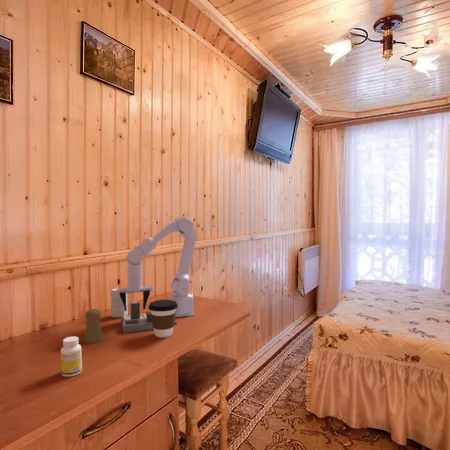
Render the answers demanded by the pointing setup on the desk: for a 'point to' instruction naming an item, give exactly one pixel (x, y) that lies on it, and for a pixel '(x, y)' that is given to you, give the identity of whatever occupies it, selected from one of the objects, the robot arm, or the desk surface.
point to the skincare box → (118, 305)
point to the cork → (93, 326)
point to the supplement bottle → (71, 357)
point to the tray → (130, 317)
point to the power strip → (139, 324)
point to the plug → (135, 310)
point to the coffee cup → (163, 317)
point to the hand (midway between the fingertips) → (134, 309)
